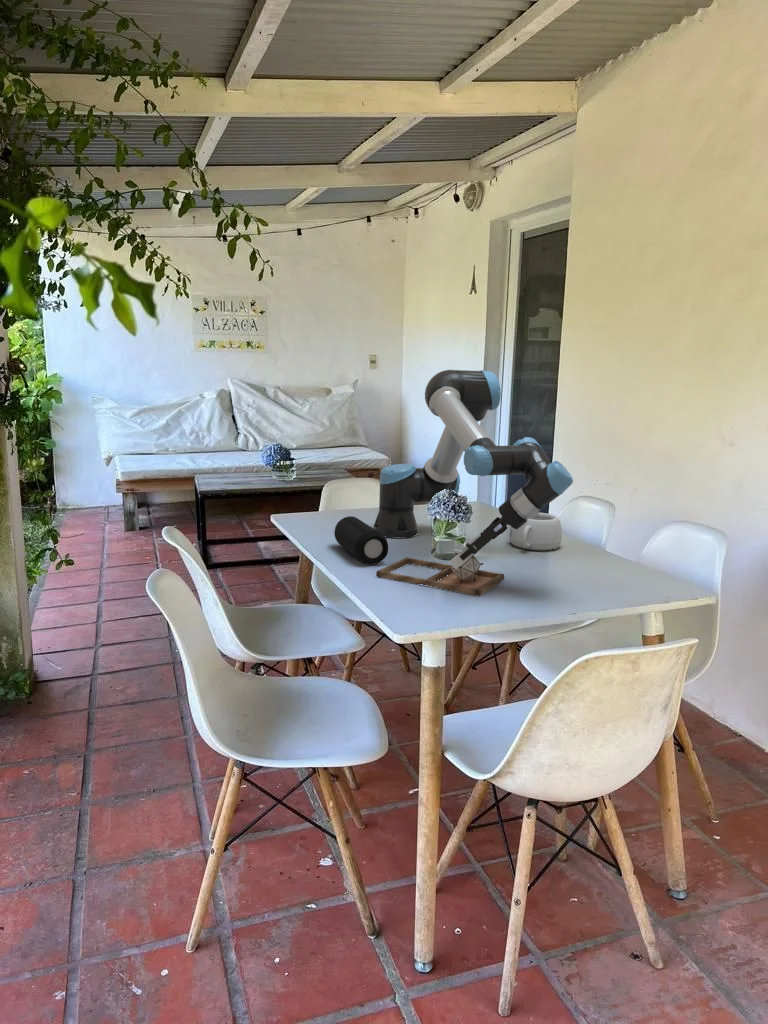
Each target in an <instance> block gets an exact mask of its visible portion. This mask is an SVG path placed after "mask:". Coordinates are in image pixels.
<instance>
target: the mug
mask: <svg viewBox="0 0 768 1024" xmlns="http://www.w3.org/2000/svg"><path fill="white" fill-rule="evenodd" d="M539 513H540V514H539V515H538V516H537V515H534V516H533V517H532V518H531V519H527V522H526V523H525V524H524V525H522V526H521V527H520V528H519V529H514V528H512V527H511V526H510V530H509V541H510V543H511V544H512V545H513V546H514V547H516V548H520V549H524V550H531V551H552V549H553V550H556V549H557V548H559V547H560V546H561V544H562V539H563V538H562V537H563V533H562V524H561V520H560V518H559V517H558V516H556V515H555V514H551V513H546V512H545V513H544V512H539Z"/></svg>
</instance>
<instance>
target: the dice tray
mask: <svg viewBox="0 0 768 1024" xmlns="http://www.w3.org/2000/svg"><path fill="white" fill-rule="evenodd" d="M408 563H409V564H408ZM406 564H407V565H411V564H415V565H414V566H417V565H421V566H420V567H422V566H427V567H426V568H428V567H432V568H431V569H434V568H437V569H436V570H439V569H441V571H440V570H439V571H438V572H436V573H435V574H433V575H431V576H429V577H428V578H421V577H415V576H411V575H410V576H409V575H406V574H400V573H394V571H393V570H395V571H397V570H398V568H399V569H401V568H403V567H405V566H407V565H406ZM404 565H405V566H404ZM402 566H403V567H402ZM451 566H452V565H451V564H447V563H446V564H445V563H441V562H435V561H429V560H424V559H419V558H418V559H417V558H410V557H404V558H402V559H400V560H398V561H395V562H394V563H391V564H390V565H387V566H386V567H382V568H381V569H379V570H376V573H375V577H376V576H378V577H377V578H380V577H384V578H383V579H385V578H388V579H387V580H391V579H393V580H392V581H396V580H398V581H397V582H401V581H403V582H402V583H406V582H409V583H408V584H412V583H415V584H414V585H417V584H423V585H428V586H432V587H431V588H433V587H437V588H436V589H438V588H442V589H441V590H443V589H447V590H446V591H449V590H452V591H451V592H454V591H457V592H456V593H459V592H462V593H461V594H465V593H467V594H466V595H470V594H473V595H472V596H475V595H478V596H477V597H481V596H483V595H484V594H486V593H487V592H488V591H490V590H491V589H492V588H494V587H495V586H497V585H499V584H500V583H501V582H502V581H504V580H505V574H504V573H499V572H494V571H487V570H482V569H479V570H478V572H477V575H476V576H475V579H476V581H474V579H470V580H464V581H462V583H460V582H461V580H460V579H459V578H458V577H457V576H456V575H455V574H454V573H453V572H452V571H451V570H448V568H450V569H451ZM400 567H401V568H400ZM396 569H397V570H396ZM391 571H393V572H391ZM447 575H448V576H447ZM440 579H441V580H440ZM438 580H439V581H438ZM428 586H427V587H428ZM489 589H490V590H489ZM486 591H487V592H486ZM483 593H484V594H483ZM480 595H481V596H480Z"/></svg>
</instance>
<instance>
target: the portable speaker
mask: <svg viewBox="0 0 768 1024" xmlns="http://www.w3.org/2000/svg"><path fill="white" fill-rule="evenodd" d="M333 535H334V538H335V540H336V542H337V543H338V544H339V545H340V546H341V547H343V548H344V549H345V550H346V551H348V553H350V554H351V555H353V556H354V557H355V558H356V559H357V560H359V561H360V562H361V563H363V564H365V565H376V564H378V563H382V561H384V560H385V559H386V558H387V555H388V552H389V543H388V538H387V537H385V536H384V535H383V534H381V533H380V532H378V531H376V530H375V529H373V527H372V526H370V525H368V524H367V523H366V522H364V521H362V520H361V519H359V517H358V518H357V517H355V516H350V515H349V516H345V517H343V518H342V519H340V520H339V521H338V522H337V523H336V525H335V528H334V534H333Z"/></svg>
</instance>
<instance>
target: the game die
mask: <svg viewBox="0 0 768 1024" xmlns="http://www.w3.org/2000/svg"><path fill="white" fill-rule="evenodd" d="M454 554H455V556H456V555H457V554H458V552H457V551H455V552H454ZM483 565H485V563H484V562H480V561H479V560H478V559H477V558H476V557H475V554H474V555H473V556H472V557H471V558H469V559H468V560H467V561H466V562H464V563H463V564H462V565H461V566H460V567H458V568H457V569H455V568H454V567H453V566H451V569H450V568H448V570H451V571H452V572H453V573H454V574H455V575H456V576H457V577H458V578H459V579H460V580H461V582H460V583H462V581H464V580H470V579H474V581H476V579H475V576H476V575H477V572H478V570H480V567H481V566H483Z"/></svg>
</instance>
